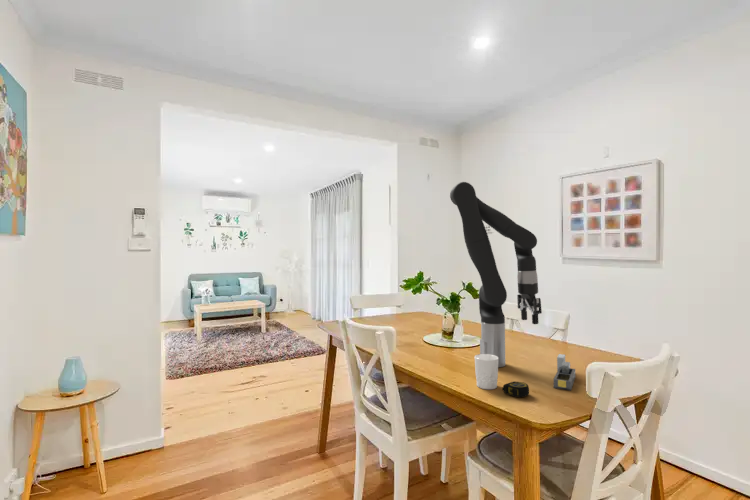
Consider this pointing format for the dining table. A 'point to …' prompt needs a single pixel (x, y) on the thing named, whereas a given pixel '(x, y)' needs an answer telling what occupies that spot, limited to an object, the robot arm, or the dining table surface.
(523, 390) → the tape measure
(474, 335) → the dining table surface
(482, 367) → the white cup
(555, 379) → the box
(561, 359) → the panel
